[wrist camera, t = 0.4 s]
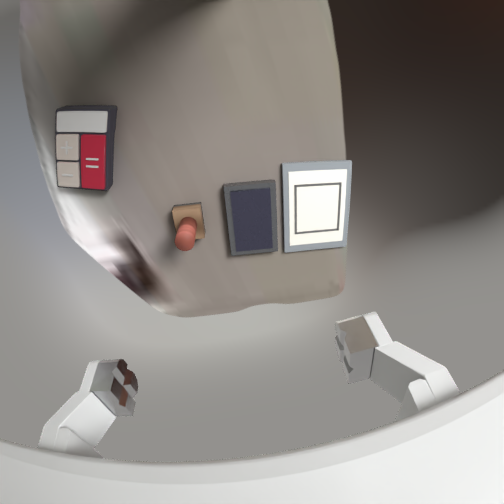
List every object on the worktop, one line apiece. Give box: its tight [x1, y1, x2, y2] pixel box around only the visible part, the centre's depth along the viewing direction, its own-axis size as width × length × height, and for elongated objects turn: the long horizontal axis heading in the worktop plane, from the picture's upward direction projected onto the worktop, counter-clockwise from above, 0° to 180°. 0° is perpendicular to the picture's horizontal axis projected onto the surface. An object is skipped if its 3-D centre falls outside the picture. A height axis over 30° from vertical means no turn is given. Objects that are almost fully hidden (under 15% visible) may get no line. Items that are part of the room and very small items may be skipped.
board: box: [282, 160, 352, 252], centre depth 57 cm, size 18×13×1 cm
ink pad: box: [224, 180, 278, 256], centre depth 57 cm, size 14×9×2 cm, turn 4°
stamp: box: [172, 202, 205, 251], centre depth 53 cm, size 6×5×9 cm
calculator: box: [56, 105, 117, 191], centre depth 46 cm, size 11×4×15 cm
